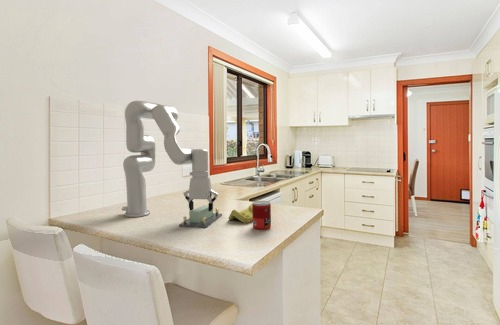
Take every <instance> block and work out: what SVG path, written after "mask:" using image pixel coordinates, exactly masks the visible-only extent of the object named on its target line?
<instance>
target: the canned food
mask: <svg viewBox="0 0 500 325" xmlns="http://www.w3.org/2000/svg"><path fill="white" fill-rule="evenodd" d="M254 201H255V200H254ZM254 201H253V202H252V203H251V204H252V212H253V221H252V227H253V229H254V230H257V231H258V230H259V231H264V230H265V231H266V230H269V229H271V226H272V218H271V217H272V209H271V208H272V206H271V202H270V201H269V200H267V201H266V200H259V201H255V202H254Z"/></svg>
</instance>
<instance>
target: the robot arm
mask: <svg viewBox="0 0 500 325" xmlns="http://www.w3.org/2000/svg"><path fill="white" fill-rule="evenodd" d="M178 118H179V114H178V111H177V109H176V108H175V107H174V106H172V105H166V104H165V105H164V104H159V103H155V102H150V101H149V102H148V101H145V100H132V101H130V102H129V103H128V104H127V105H126V107H125V109H124V120H125V127H126V128H125V129H126V130H125V133H126V134H125V142H126V143H125V145H126V150H127V151H128V152H130V153H140V154H134V155H133V154H132V155H129V156H127V157H125V159H124V160H123V163H122V166H123V171H124V175H125V183H126V184H125V185H126V206H122V208H121V211H123V212H125V213H124V217H127V218H138V217H139V218H140V217H144V216H148V215H150V213H151V211H150V210H149V209H147V208H148V206H147V189H146V188H147V187H146V184H147V183H146V178H145V176H144V173H147V172H151V171H153V170H154V168H155V166H156V142H155V140H154V138H153V137H152V136H151V135H148V134H144V133H145V130H144V129H145V128H144V124H143V121H142V120H141V119H149V120H154V121H155V123H156V125H157V127H158V128H159V130H160V131H161V133H162V135H163V146H164V147H163V148H164V150H165V152H166V154H167V156H168V157H169V159H170V161H172V162H173V163H174V164H175V165H178V166H181V165H182V166H183V165H189V164H191V172H189V175H190V176H191V177H190V178H189V179H190V180H189V186H188V190H186V191H184V192H183V193H182V194H183V195H184V198H185V200H186V202H188V209H189V211H191V210H194V209H195V208H194V201H193V200H207V201H208V205H209V212H210V211H212V209H213V210H214V202H215V201H216V200H217V197H218V196H219V193H218V192H216V191H215V190H213V189H212V183H211V178H210V177H209V151H208V150H207V149H205V148H195V149H194V148H181V147H180V146H179V144H178V141H177V139H176V136H177V135H178V134H179V133H180V131H181V128H180V126H179V125H178V123H177V122H176V121H177V120H178ZM212 195H213V197H212Z"/></svg>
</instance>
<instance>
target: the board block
mask: <svg viewBox="0 0 500 325" xmlns="http://www.w3.org/2000/svg"><path fill="white" fill-rule="evenodd" d="M213 213H214V208H213V209H212V211H210V212H209V204H203V205H201V206H198V207H196V208H194V209H193V210H191V211H190V210H189V213H188V214H189V218H190V222H196V223H200V222H202V217H205V219H207V218H209V217H211V216H213ZM189 218H188V219H189Z"/></svg>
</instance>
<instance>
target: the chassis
mask: <svg viewBox="0 0 500 325" xmlns="http://www.w3.org/2000/svg"><path fill="white" fill-rule="evenodd" d="M222 216H223V213H219V208H218V207H217V208H215V212H213V216H211V217H209V218H207V219H205V217H202V222H200V223H196V222H190V218H187V216H186V215H185V216H183V222H181V223H179V224H178V226H179V227H180V228H181V227H182V228H200V229H201V228H203V229H205V228H209V226H211V225H212V224H213V223H215V222H216V221H217V220H218V219H219V218H221V217H222Z"/></svg>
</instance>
